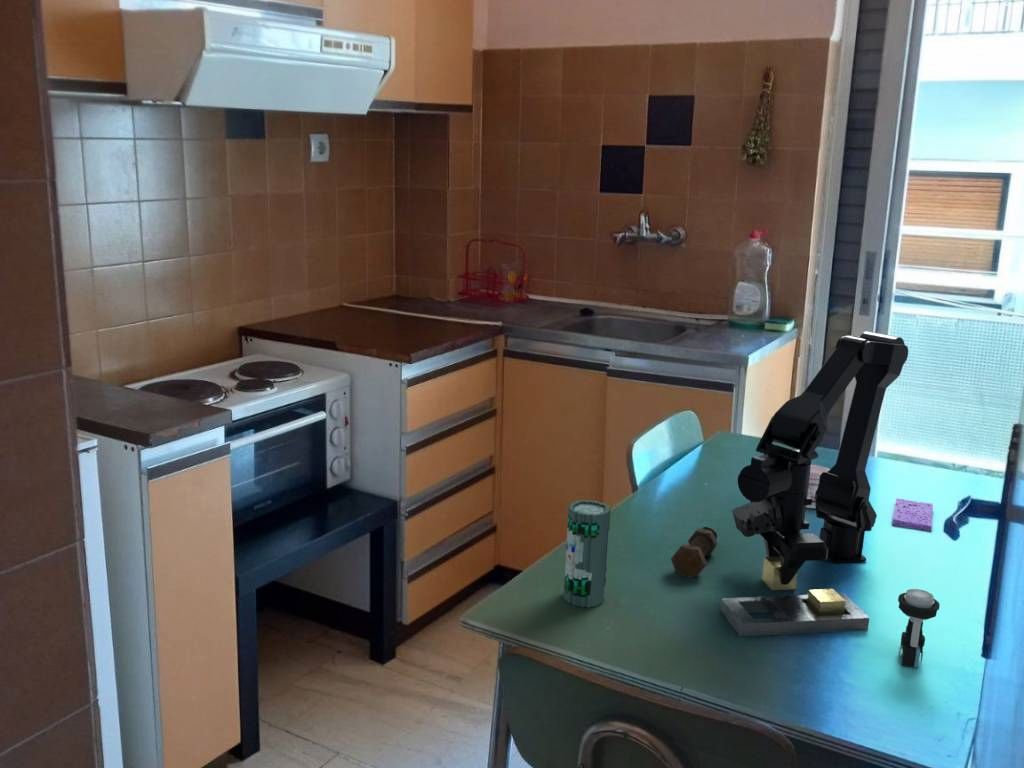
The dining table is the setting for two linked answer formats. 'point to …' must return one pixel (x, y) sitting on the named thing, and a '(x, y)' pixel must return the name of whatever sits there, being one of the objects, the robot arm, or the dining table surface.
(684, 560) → the bolt
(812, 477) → the teacup
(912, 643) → the push button
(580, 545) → the can
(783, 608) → the rectangular frame
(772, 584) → the beige wood block
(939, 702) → the dining table surface
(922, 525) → the sponges
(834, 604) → the tan wooden cube
